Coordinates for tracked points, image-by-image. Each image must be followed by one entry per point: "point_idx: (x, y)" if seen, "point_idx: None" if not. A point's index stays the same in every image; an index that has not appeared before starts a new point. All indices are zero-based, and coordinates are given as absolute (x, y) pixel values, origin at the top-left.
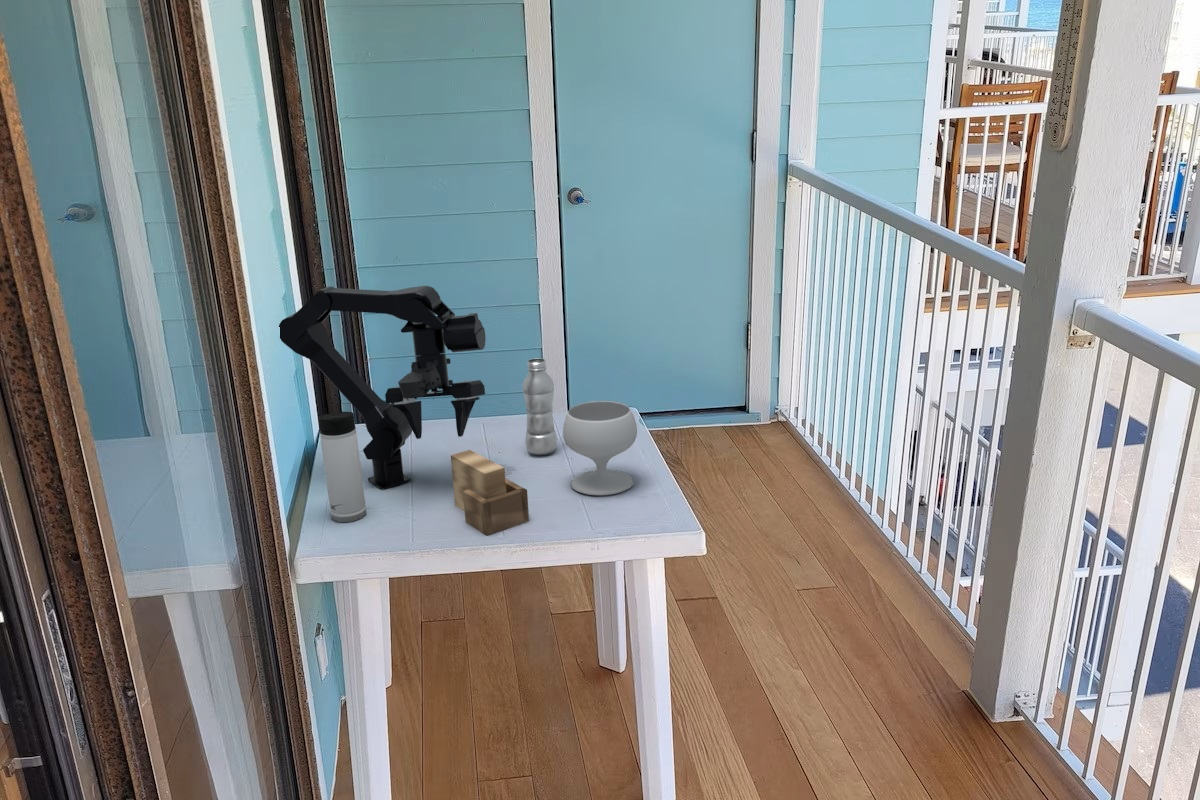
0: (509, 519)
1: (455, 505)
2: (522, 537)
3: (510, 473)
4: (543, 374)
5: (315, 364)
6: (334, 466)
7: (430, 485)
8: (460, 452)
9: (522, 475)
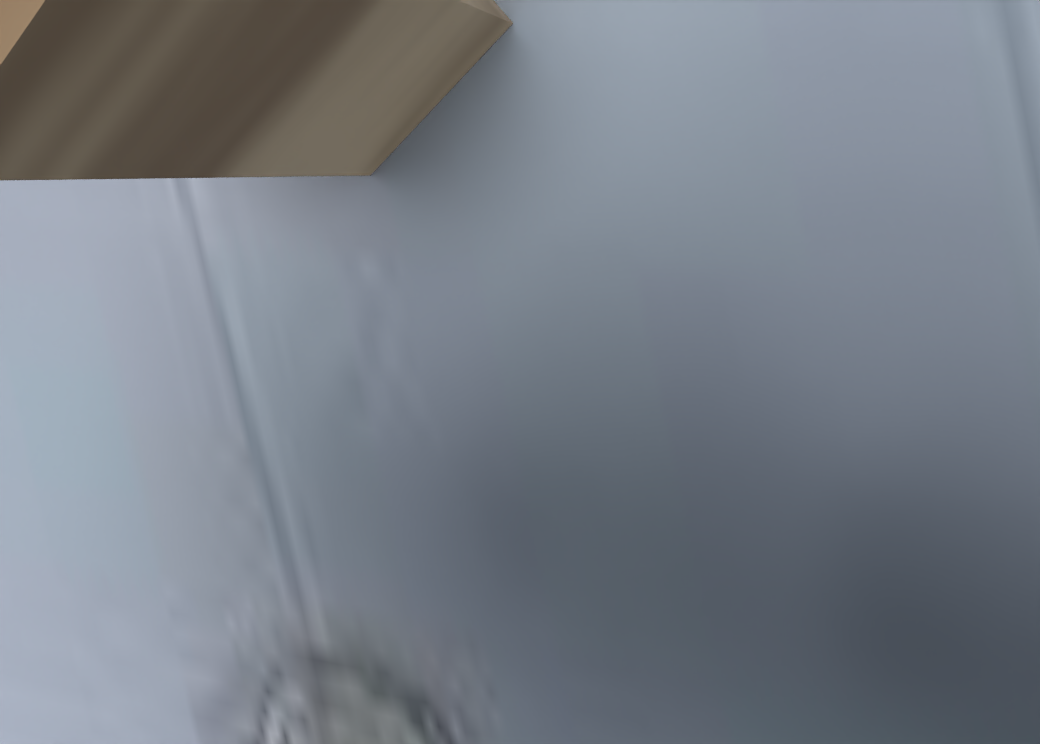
0: None
1: (507, 17)
2: None
3: (203, 716)
4: None
5: None
6: None
7: (886, 558)
8: (12, 34)
9: (109, 657)
